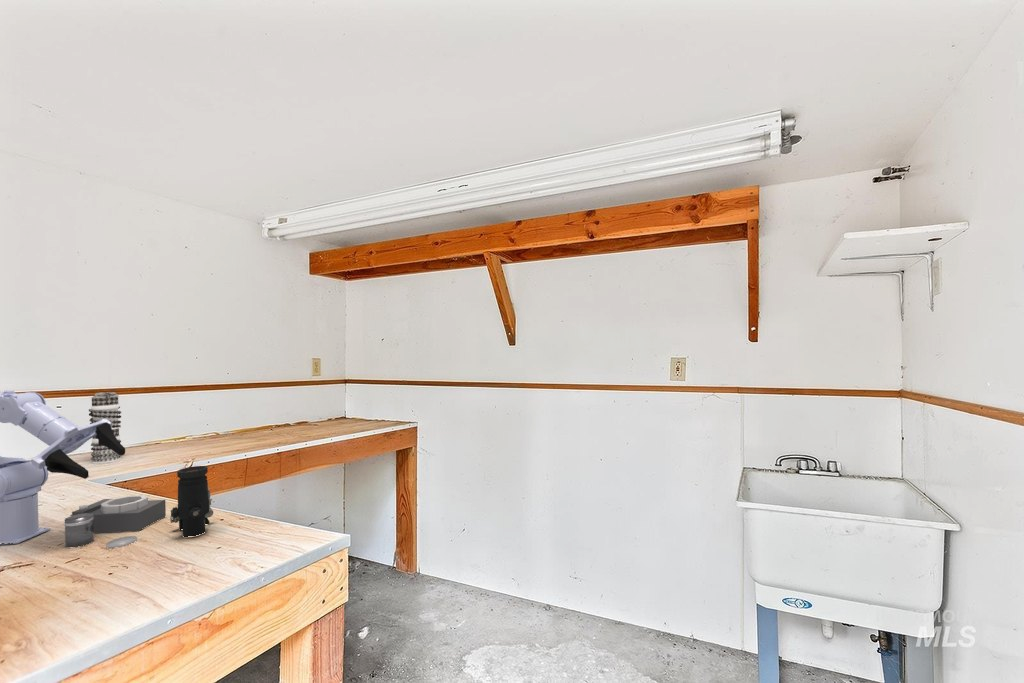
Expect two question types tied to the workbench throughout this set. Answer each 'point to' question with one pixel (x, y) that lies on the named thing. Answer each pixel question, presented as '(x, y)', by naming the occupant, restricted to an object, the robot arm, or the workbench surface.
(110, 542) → the grey domed disc
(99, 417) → the decorative candle
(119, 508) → the camera body
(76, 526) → the lens
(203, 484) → the scope
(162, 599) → the workbench surface
